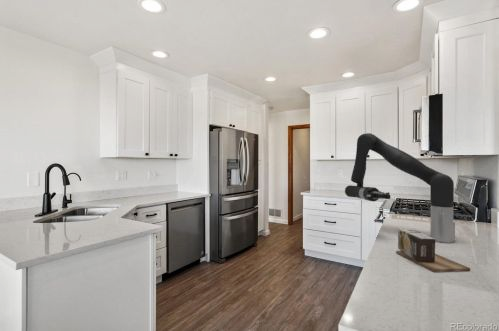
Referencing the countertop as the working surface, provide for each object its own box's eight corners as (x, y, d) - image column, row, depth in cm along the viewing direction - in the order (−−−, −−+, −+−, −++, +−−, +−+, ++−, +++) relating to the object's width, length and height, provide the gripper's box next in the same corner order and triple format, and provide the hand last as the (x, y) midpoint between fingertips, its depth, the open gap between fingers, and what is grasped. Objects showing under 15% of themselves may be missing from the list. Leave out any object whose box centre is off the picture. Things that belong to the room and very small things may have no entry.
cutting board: (426, 252, 113) (426, 250, 113) (470, 271, 93) (470, 268, 93) (396, 253, 111) (396, 251, 111) (434, 272, 92) (434, 269, 92)
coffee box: (397, 228, 114) (417, 237, 98) (413, 228, 114) (435, 238, 98) (397, 249, 114) (417, 262, 98) (413, 249, 114) (435, 263, 98)
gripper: (357, 187, 144) (375, 189, 127) (380, 186, 146) (401, 188, 128) (357, 200, 144) (376, 205, 127) (380, 200, 146) (401, 204, 128)
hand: (388, 196), depth 128 cm, fingers closed
